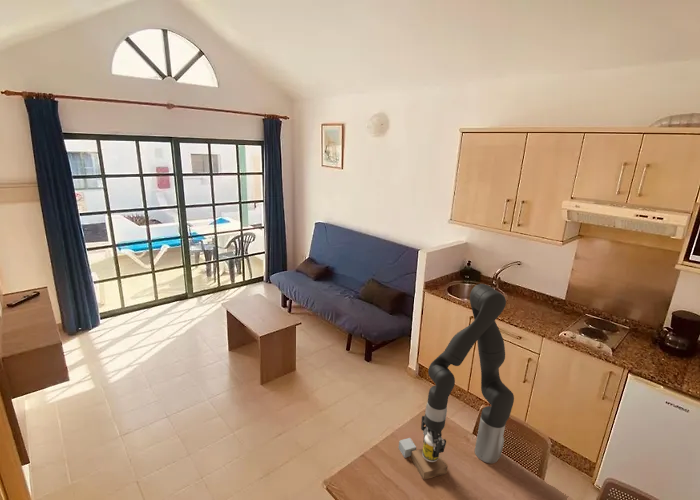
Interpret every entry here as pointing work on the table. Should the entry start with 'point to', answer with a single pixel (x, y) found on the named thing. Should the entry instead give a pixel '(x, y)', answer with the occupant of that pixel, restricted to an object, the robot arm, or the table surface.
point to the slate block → (406, 447)
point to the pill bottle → (428, 448)
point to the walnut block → (428, 465)
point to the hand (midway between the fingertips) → (430, 449)
